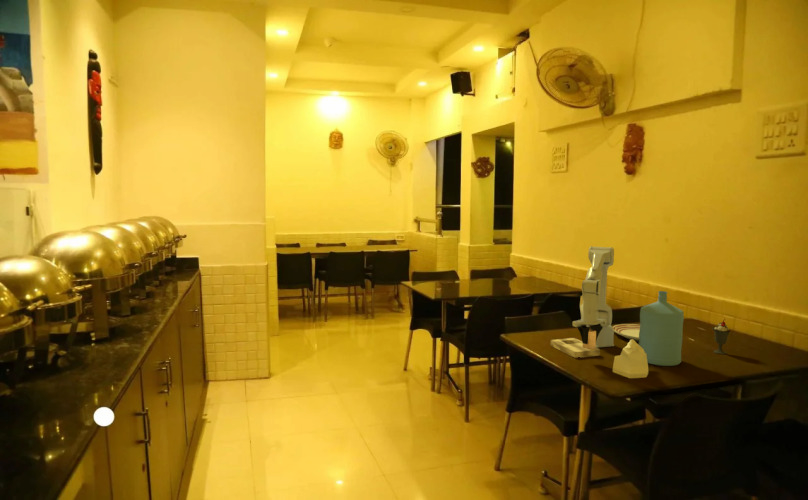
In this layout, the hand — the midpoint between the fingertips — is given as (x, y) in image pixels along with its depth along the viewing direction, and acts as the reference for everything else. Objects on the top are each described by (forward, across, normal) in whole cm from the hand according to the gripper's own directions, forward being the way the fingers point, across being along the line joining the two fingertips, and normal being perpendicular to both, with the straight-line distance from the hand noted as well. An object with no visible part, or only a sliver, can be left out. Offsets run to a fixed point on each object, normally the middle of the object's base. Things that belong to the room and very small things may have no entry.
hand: (589, 343), depth 206 cm
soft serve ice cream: (+8, +8, -16) cm, 20 cm away
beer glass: (+8, +33, +48) cm, 59 cm away
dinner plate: (+8, +46, +23) cm, 52 cm away
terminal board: (+8, +3, +14) cm, 16 cm away
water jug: (+8, +28, -7) cm, 30 cm away
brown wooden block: (+2, 0, 0) cm, 2 cm away
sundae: (+8, +60, -6) cm, 61 cm away
